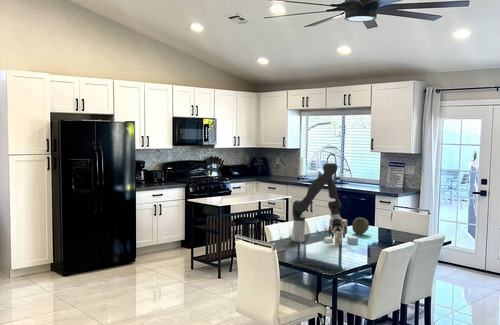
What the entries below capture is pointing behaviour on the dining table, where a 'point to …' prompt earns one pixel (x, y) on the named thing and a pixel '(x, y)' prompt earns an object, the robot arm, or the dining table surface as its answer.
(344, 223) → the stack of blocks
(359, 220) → the cantaloupe
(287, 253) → the dining table surface
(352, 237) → the blue base block
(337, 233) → the oak block
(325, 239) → the cream block
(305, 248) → the dining table surface
